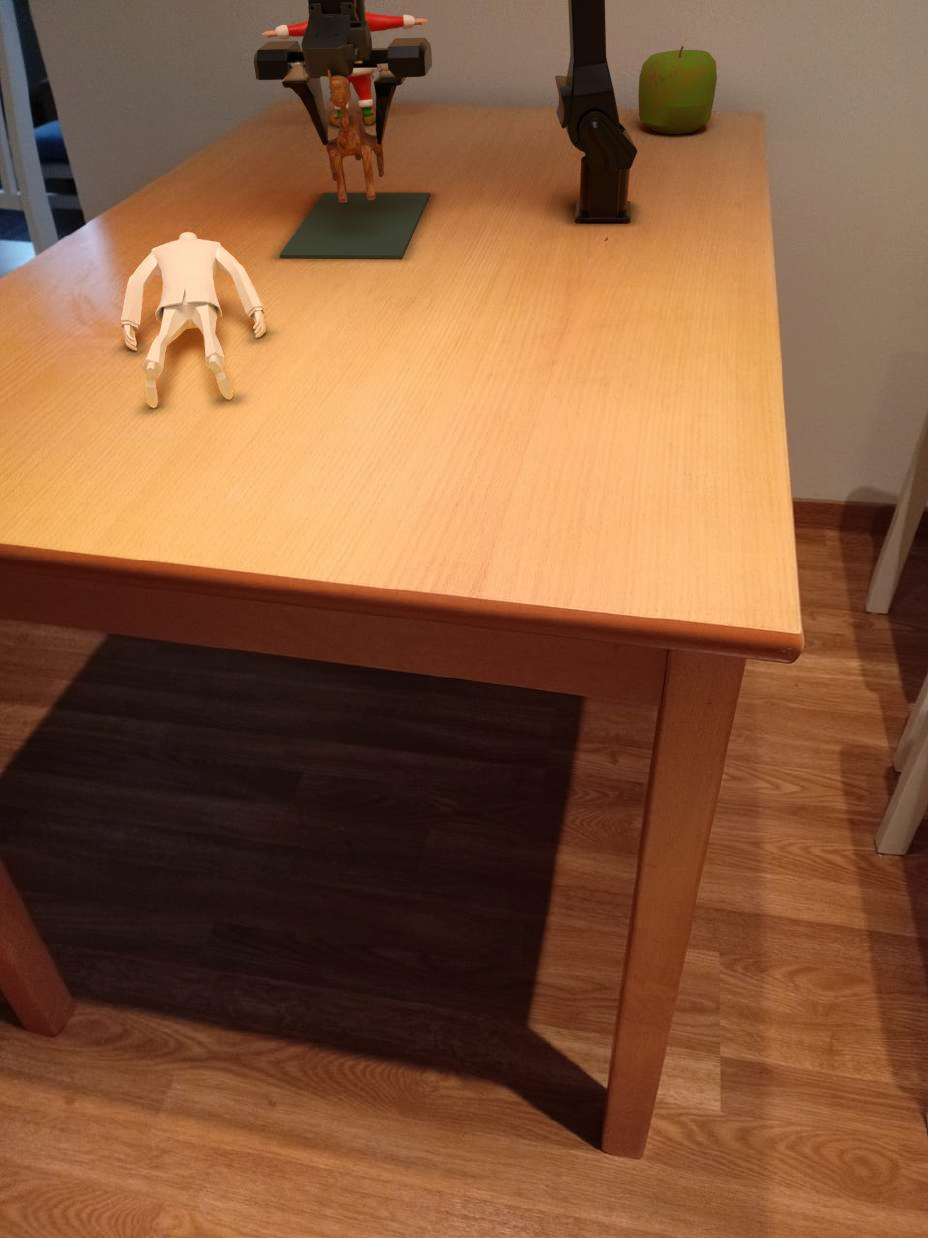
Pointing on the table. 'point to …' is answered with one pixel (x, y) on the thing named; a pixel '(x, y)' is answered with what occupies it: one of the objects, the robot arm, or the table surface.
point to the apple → (677, 90)
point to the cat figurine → (351, 141)
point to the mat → (358, 226)
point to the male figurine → (187, 303)
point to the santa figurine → (359, 75)
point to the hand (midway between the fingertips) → (352, 143)
